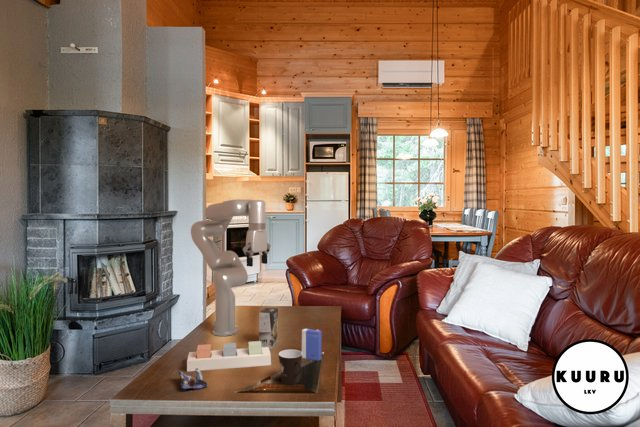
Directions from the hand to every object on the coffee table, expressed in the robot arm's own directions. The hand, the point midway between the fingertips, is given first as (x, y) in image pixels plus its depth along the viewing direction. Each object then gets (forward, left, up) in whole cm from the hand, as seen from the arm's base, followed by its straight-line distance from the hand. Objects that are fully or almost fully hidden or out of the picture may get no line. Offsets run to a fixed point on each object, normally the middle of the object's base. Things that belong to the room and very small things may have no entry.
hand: (257, 264), depth 196 cm
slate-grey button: (+9, -23, -34) cm, 42 cm away
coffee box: (+6, +2, -36) cm, 37 cm away
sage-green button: (+15, -16, -34) cm, 40 cm away
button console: (+9, -23, -36) cm, 44 cm away
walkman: (+31, +2, -36) cm, 48 cm away
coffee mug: (+40, -21, -36) cm, 58 cm away
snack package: (+14, -45, -37) cm, 60 cm away
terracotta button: (+2, -31, -33) cm, 46 cm away
